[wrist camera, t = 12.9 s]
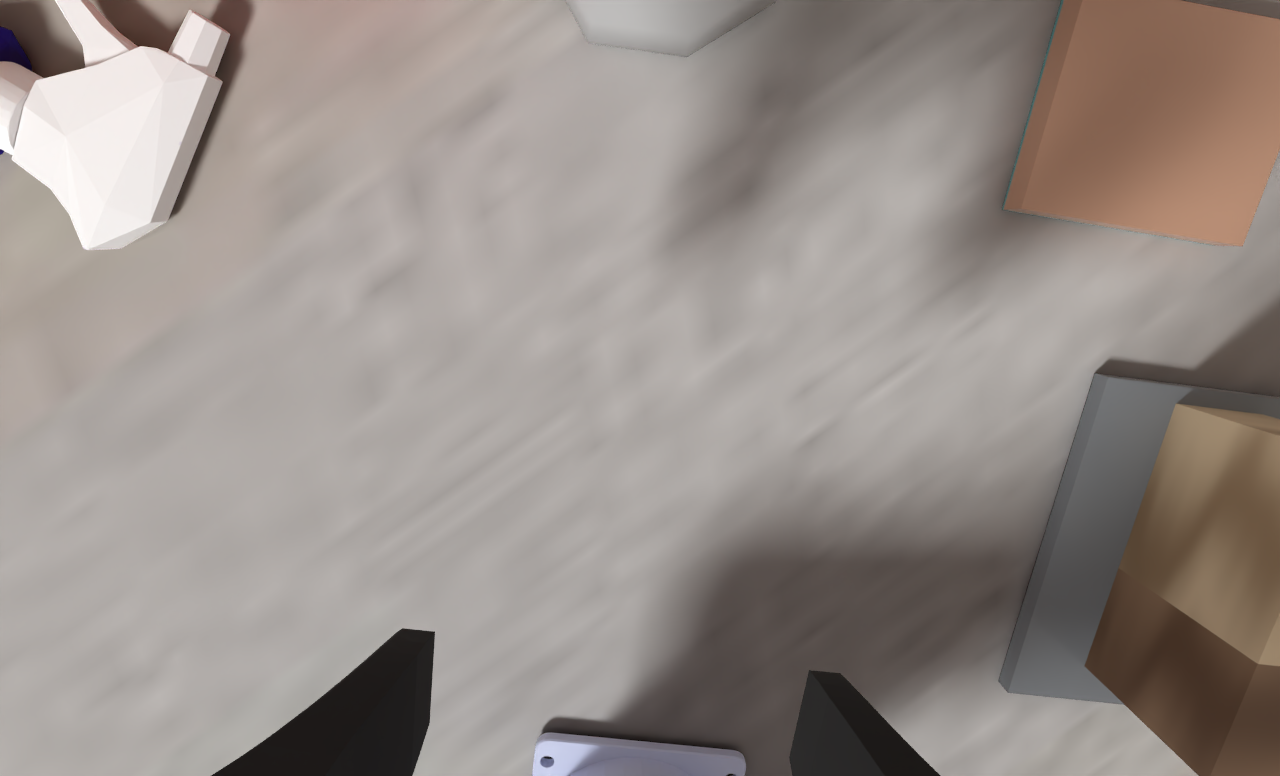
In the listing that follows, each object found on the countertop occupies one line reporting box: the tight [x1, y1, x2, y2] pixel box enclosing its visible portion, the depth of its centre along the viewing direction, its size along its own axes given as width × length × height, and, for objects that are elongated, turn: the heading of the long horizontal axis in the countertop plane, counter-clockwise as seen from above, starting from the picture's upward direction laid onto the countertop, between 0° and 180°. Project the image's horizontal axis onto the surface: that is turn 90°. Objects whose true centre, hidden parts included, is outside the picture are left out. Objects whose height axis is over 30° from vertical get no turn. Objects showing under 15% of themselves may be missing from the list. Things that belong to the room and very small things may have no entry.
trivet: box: [999, 373, 1280, 705], centre depth 22 cm, size 12×8×1 cm, turn 173°
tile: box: [1002, 0, 1280, 246], centre depth 19 cm, size 2×7×6 cm
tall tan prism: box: [1085, 404, 1280, 776], centre depth 19 cm, size 10×3×5 cm, turn 173°
